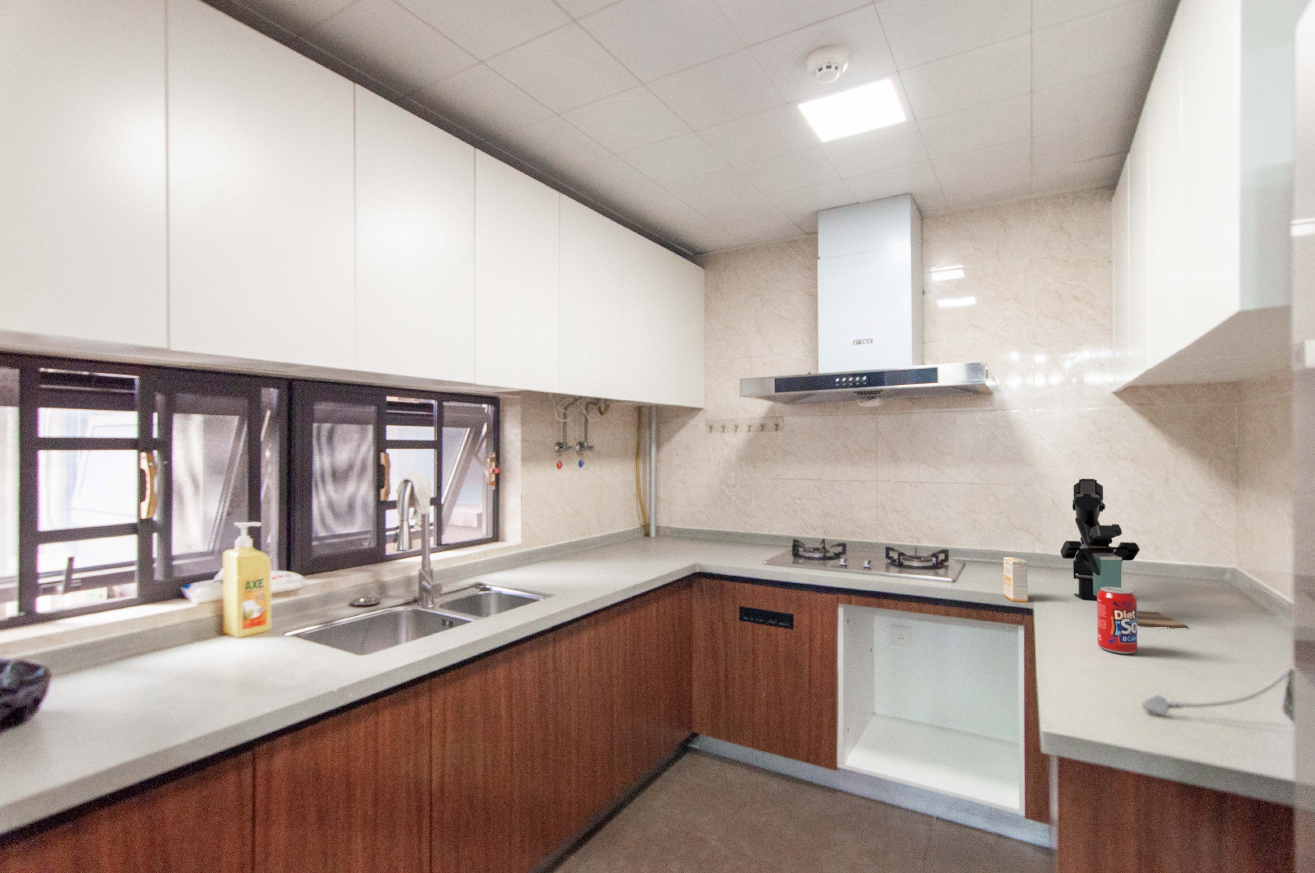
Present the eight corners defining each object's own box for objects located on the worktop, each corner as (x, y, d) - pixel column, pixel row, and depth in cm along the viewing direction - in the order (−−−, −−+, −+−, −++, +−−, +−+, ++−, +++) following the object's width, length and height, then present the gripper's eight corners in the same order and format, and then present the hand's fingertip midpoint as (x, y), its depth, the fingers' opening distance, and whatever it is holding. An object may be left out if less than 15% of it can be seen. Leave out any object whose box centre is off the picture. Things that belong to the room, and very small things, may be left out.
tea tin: (1092, 594, 181) (1092, 553, 181) (1112, 595, 180) (1112, 553, 180) (1101, 598, 176) (1100, 556, 176) (1122, 599, 175) (1121, 557, 175)
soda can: (1098, 643, 157) (1098, 584, 157) (1138, 649, 152) (1137, 588, 152) (1096, 651, 151) (1095, 589, 151) (1136, 658, 146) (1136, 594, 146)
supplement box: (1028, 602, 198) (1028, 561, 198) (1012, 601, 199) (1011, 560, 199) (1019, 596, 206) (1018, 556, 206) (1003, 595, 207) (1002, 556, 207)
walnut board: (1104, 614, 186) (1104, 609, 186) (1157, 617, 183) (1157, 611, 183) (1129, 628, 172) (1129, 622, 172) (1187, 631, 169) (1187, 625, 169)
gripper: (1064, 513, 184) (1081, 557, 173) (1135, 514, 180) (1158, 559, 169) (1053, 536, 191) (1069, 579, 180) (1122, 537, 187) (1142, 582, 176)
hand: (1109, 574), depth 176 cm, fingers closed on tea tin, 5 cm apart
